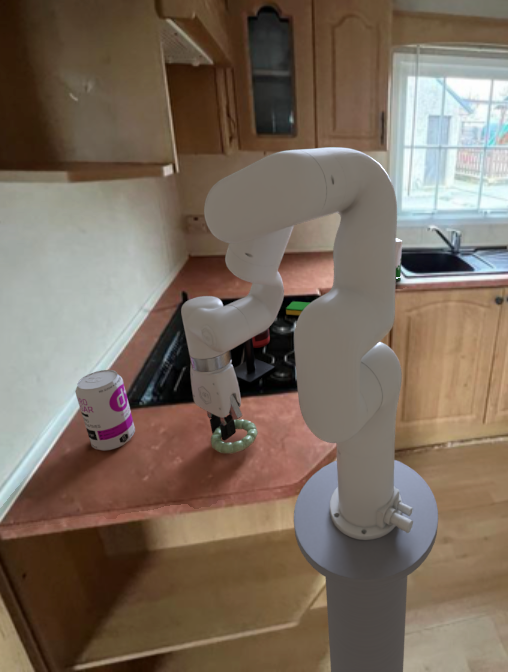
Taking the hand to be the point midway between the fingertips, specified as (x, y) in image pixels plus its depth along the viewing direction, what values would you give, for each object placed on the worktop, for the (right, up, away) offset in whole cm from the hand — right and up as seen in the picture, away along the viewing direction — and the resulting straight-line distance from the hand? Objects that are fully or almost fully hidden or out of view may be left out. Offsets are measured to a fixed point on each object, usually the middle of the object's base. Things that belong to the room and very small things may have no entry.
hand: (224, 433), depth 88 cm
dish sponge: (+9, +22, +63) cm, 67 cm away
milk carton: (+41, +35, +97) cm, 111 cm away
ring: (+3, 0, -2) cm, 4 cm away
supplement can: (-24, -2, +1) cm, 24 cm away
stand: (-1, +8, +25) cm, 26 cm away
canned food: (-4, +14, +41) cm, 43 cm away
